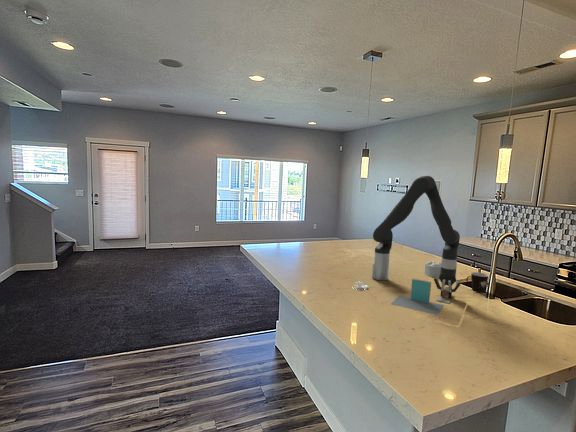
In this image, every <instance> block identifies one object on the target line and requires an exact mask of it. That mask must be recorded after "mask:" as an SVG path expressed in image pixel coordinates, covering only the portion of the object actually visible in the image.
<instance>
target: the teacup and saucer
mask: <svg viewBox="0 0 576 432" xmlns="http://www.w3.org/2000/svg"><path fill="white" fill-rule="evenodd" d="M354 286H357V287H356V288H355V287H354V288H355V289H356V291H358V290H363V289H364V290H363V291H366V290H367V289H368V288H369V285H366V284H365V285H364V284H363V281H359V280H358V281H356V282H355V284H354ZM354 288H353V286H352V289H353V290H355V289H354ZM357 289H358V290H357Z"/></svg>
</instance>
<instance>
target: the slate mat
mask: <svg viewBox="0 0 576 432" xmlns="http://www.w3.org/2000/svg"><path fill="white" fill-rule="evenodd" d="M390 305H394V306H398V307H402V308H406V309H410V310H413V311H418V312H422V313H426V314H429V315H434V316H435V315H436V316H439V314H440V313H441V310H442V309H443V307H444V304H441V303H436V302H432V301H430V303H424V302H420V301H415V300H411V296H410V297H409V296H404V295H400V294H399V295H398V296H397V297H396V298H395V299H394V300H392V302H391V303H390Z"/></svg>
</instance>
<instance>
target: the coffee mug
mask: <svg viewBox="0 0 576 432" xmlns="http://www.w3.org/2000/svg"><path fill="white" fill-rule="evenodd" d="M469 278H470V279H471V283H470V282H469V281H468V279H469ZM488 279H489V275H488V274H487V273H483V272H476V271H473V272H471V275H469V276H467V277H466V279H465V280H466V282H467V284H469V286H471V291H472V290H473V291H472V292H474V293H475V292H476V293H480V292H482V294H483V293H485V290H486V287H487V282H488ZM480 294H481V293H480Z"/></svg>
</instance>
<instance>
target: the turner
mask: <svg viewBox="0 0 576 432" xmlns="http://www.w3.org/2000/svg"><path fill="white" fill-rule="evenodd" d="M448 297H449V286H445V287H444V290H443V292H442V296H438V297H437V299H436V302H439V303H444V304H448V305H449V304H450V303H451V300H452V299H451V298H448Z"/></svg>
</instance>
